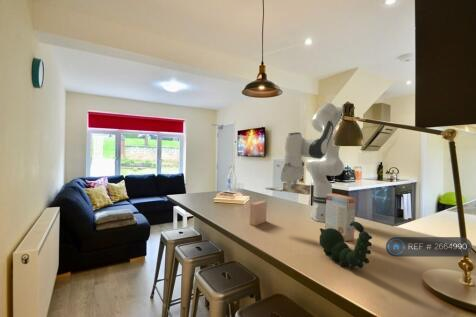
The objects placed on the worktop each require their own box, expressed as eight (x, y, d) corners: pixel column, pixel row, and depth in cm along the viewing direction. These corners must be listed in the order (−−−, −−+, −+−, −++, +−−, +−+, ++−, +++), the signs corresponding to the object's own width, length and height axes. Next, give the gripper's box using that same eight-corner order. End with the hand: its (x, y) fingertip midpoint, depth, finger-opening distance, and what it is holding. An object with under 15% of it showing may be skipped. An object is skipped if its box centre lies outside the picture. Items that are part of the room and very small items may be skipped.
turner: (311, 193, 125) (311, 185, 125) (307, 195, 120) (307, 186, 120) (270, 188, 140) (271, 180, 140) (265, 189, 135) (265, 181, 135)
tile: (265, 221, 145) (266, 201, 145) (255, 225, 136) (255, 204, 135) (260, 219, 148) (261, 200, 147) (249, 224, 138) (249, 203, 138)
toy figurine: (373, 278, 86) (326, 245, 109) (380, 227, 84) (331, 204, 107) (352, 282, 83) (309, 247, 106) (359, 229, 80) (313, 205, 104)
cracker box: (354, 240, 118) (356, 198, 117) (344, 242, 115) (347, 198, 115) (333, 231, 131) (335, 192, 130) (324, 232, 128) (326, 193, 128)
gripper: (289, 163, 118) (288, 192, 118) (305, 162, 134) (304, 187, 135) (278, 163, 122) (277, 190, 122) (295, 162, 138) (294, 186, 138)
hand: (291, 189), depth 129 cm, fingers closed on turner, 3 cm apart
